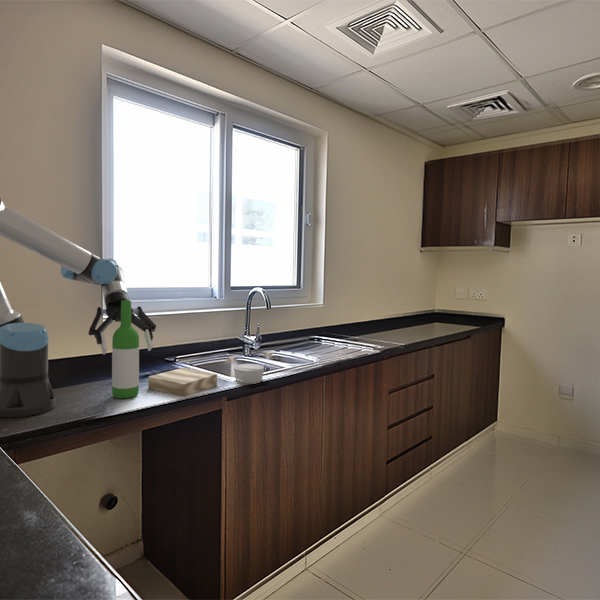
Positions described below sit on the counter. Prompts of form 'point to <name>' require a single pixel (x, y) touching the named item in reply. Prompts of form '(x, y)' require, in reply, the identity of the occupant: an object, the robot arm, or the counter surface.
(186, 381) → the birch base
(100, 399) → the counter surface
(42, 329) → the robot arm
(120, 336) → the wine bottle
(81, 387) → the counter surface
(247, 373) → the ramekin
